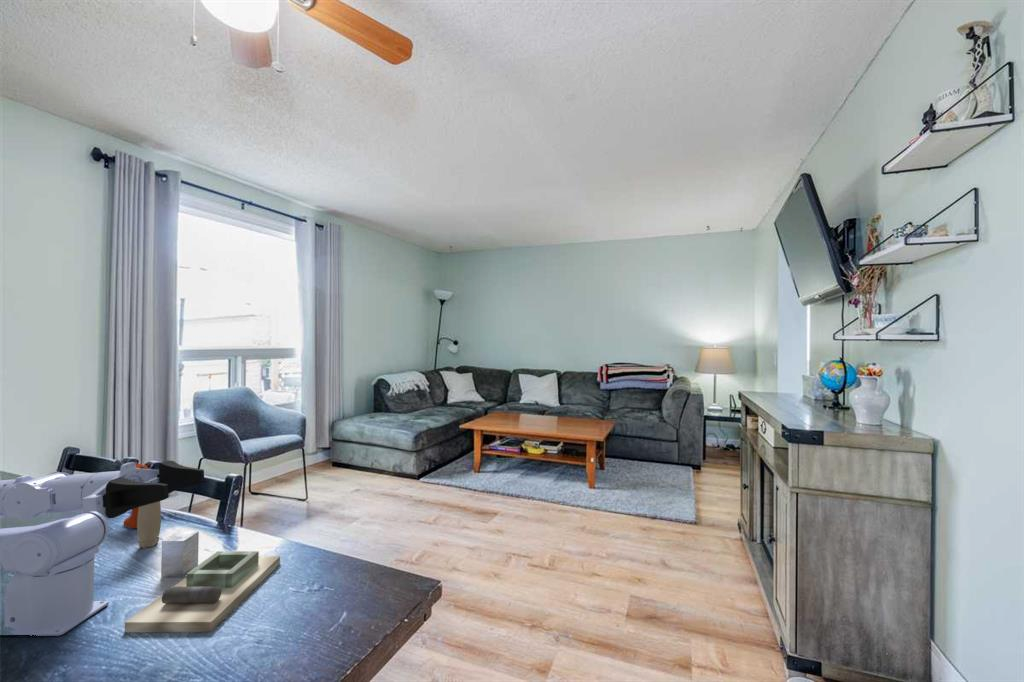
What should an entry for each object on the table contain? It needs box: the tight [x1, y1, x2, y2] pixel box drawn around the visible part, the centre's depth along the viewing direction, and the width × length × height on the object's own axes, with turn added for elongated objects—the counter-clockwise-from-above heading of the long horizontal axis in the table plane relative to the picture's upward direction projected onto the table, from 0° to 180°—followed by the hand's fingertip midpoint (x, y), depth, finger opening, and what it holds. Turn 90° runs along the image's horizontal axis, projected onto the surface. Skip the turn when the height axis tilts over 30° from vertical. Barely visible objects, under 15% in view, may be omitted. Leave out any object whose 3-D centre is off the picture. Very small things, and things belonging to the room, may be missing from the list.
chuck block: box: [124, 550, 281, 633], centre depth 74 cm, size 13×20×4 cm, turn 1°
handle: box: [136, 501, 162, 549], centre depth 92 cm, size 5×6×15 cm
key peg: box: [160, 531, 200, 579], centre depth 81 cm, size 4×4×7 cm
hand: (185, 483), depth 67 cm, fingers open, 7 cm apart
